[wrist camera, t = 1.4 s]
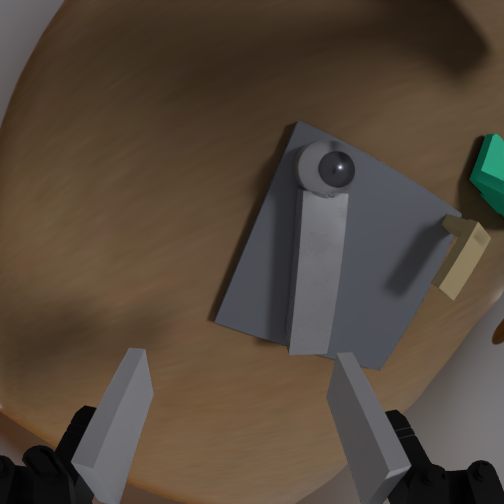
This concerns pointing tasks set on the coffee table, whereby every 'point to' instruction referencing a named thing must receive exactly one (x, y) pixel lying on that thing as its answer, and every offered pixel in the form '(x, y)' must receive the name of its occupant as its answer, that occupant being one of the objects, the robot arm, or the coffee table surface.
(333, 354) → the plate
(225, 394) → the coffee table surface
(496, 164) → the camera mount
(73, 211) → the coffee table surface
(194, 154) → the coffee table surface
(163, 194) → the coffee table surface
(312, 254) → the link
